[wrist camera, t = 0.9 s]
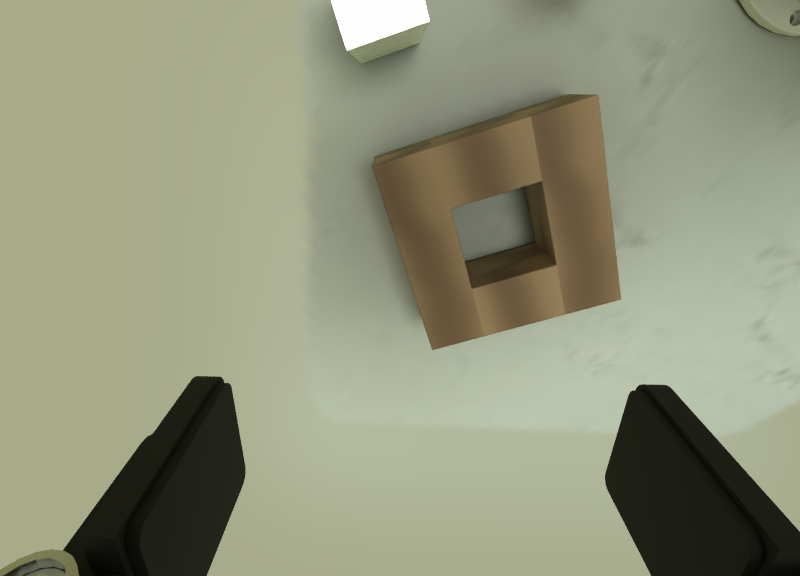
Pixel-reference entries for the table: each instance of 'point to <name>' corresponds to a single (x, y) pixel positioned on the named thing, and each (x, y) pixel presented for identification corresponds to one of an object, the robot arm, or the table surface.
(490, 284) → the socket block
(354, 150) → the table surface
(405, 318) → the table surface
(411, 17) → the square peg
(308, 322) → the table surface
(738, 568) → the robot arm
